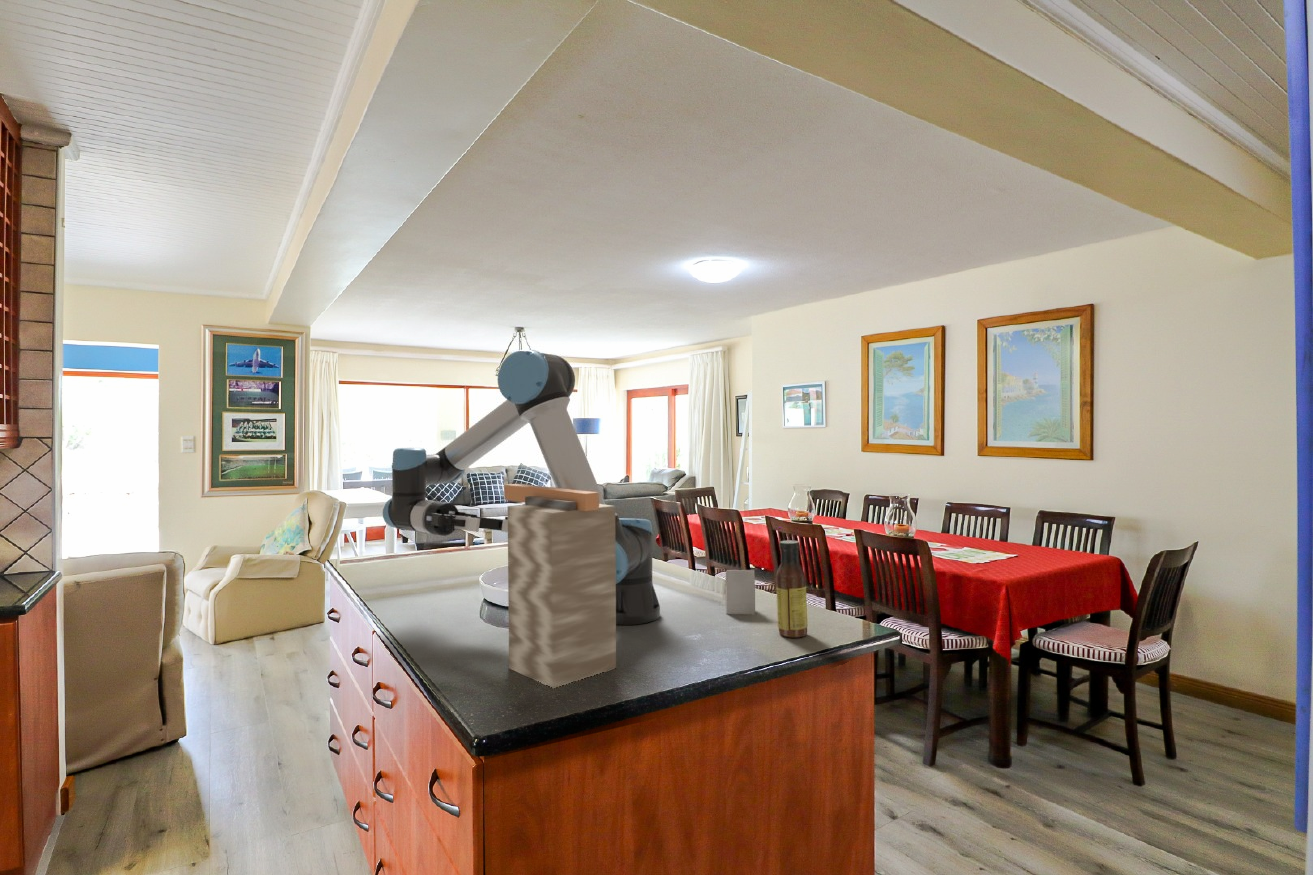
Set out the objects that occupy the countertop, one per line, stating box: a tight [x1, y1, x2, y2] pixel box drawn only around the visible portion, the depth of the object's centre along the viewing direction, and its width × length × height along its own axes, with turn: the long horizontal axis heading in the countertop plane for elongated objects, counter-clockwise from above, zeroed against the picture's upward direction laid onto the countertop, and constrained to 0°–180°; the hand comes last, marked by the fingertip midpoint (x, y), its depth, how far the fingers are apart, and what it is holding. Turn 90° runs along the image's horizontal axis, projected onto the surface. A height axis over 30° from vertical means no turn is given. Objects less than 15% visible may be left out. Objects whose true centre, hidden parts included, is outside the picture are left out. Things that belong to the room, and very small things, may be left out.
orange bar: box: [503, 483, 599, 511], centre depth 130 cm, size 26×3×3 cm, turn 44°
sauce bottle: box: [775, 539, 808, 639], centre depth 148 cm, size 6×6×20 cm
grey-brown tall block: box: [507, 496, 617, 690], centre depth 128 cm, size 14×14×32 cm
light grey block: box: [725, 569, 756, 615], centre depth 166 cm, size 4×7×10 cm, turn 88°
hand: (502, 526), depth 147 cm, fingers open, 13 cm apart
